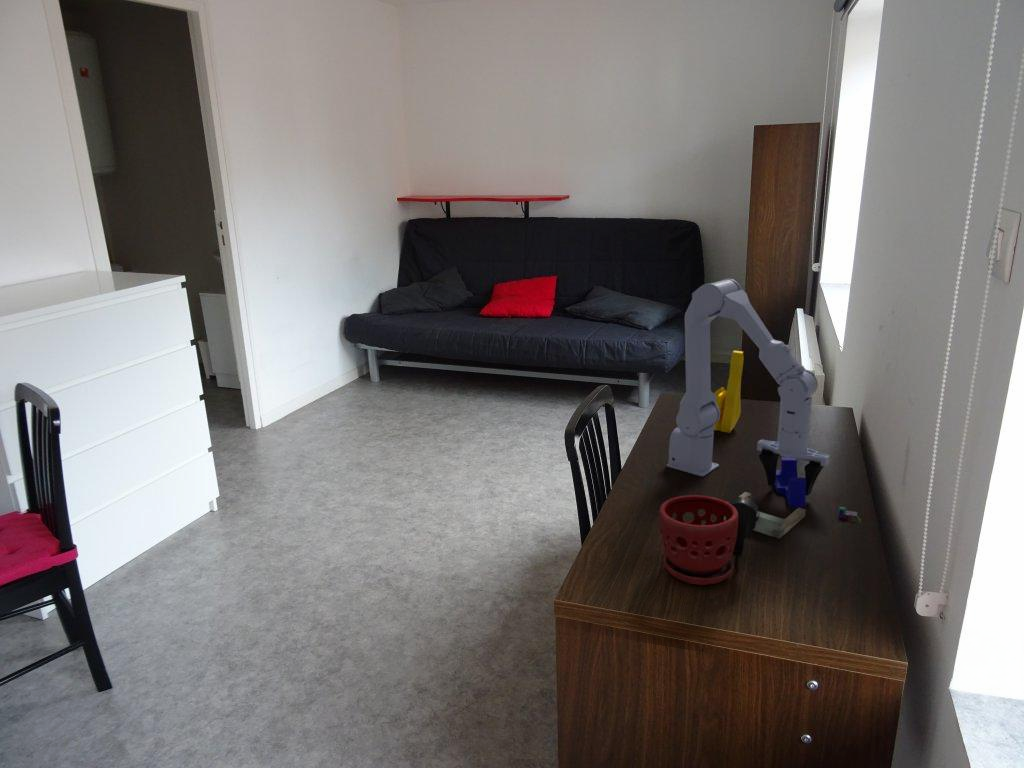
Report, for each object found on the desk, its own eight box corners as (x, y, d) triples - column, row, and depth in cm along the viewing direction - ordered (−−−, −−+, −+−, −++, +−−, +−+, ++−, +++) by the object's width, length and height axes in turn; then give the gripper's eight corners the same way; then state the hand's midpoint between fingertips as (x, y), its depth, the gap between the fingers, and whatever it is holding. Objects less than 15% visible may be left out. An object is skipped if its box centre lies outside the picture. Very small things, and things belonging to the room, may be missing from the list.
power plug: (719, 567, 126) (723, 505, 123) (725, 547, 133) (729, 488, 129) (752, 574, 124) (757, 511, 121) (757, 553, 131) (762, 493, 127)
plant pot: (735, 557, 130) (739, 496, 126) (733, 596, 118) (737, 531, 115) (662, 547, 134) (664, 488, 130) (653, 584, 122) (655, 521, 119)
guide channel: (717, 518, 144) (718, 503, 143) (744, 498, 152) (745, 484, 152) (779, 538, 136) (780, 523, 135) (804, 516, 144) (806, 501, 143)
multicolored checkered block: (838, 522, 142) (839, 511, 142) (838, 515, 145) (839, 505, 144) (861, 525, 141) (863, 514, 140) (861, 519, 143) (862, 508, 142)
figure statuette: (714, 418, 201) (719, 342, 195) (743, 422, 198) (749, 344, 191) (702, 440, 185) (707, 357, 179) (734, 444, 182) (739, 360, 176)
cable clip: (773, 482, 160) (774, 457, 158) (794, 482, 159) (795, 457, 157) (781, 507, 148) (782, 480, 147) (805, 507, 147) (806, 480, 146)
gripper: (752, 426, 151) (748, 485, 155) (822, 442, 141) (816, 504, 145) (767, 417, 156) (762, 475, 160) (835, 432, 146) (829, 493, 150)
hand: (789, 488), depth 153 cm, fingers open, 7 cm apart
